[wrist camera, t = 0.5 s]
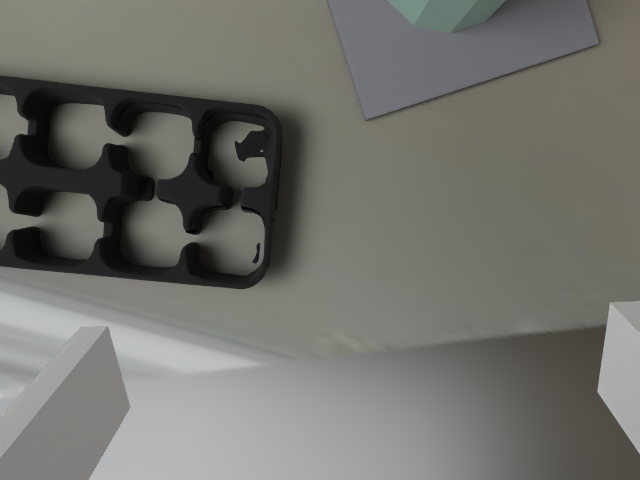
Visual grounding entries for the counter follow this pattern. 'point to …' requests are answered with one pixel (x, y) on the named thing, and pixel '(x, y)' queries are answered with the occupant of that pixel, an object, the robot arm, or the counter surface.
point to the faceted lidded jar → (446, 12)
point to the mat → (450, 48)
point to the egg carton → (132, 179)
